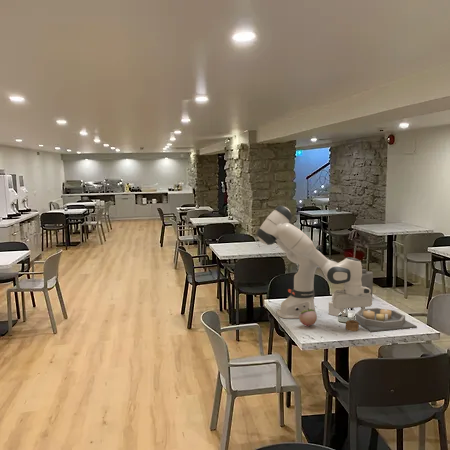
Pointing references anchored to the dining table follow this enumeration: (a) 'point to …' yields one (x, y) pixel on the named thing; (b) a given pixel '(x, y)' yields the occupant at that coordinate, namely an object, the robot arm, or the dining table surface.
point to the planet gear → (352, 325)
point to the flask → (367, 279)
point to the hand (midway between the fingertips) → (352, 315)
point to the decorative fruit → (308, 317)
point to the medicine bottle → (333, 310)
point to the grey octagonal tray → (382, 320)
